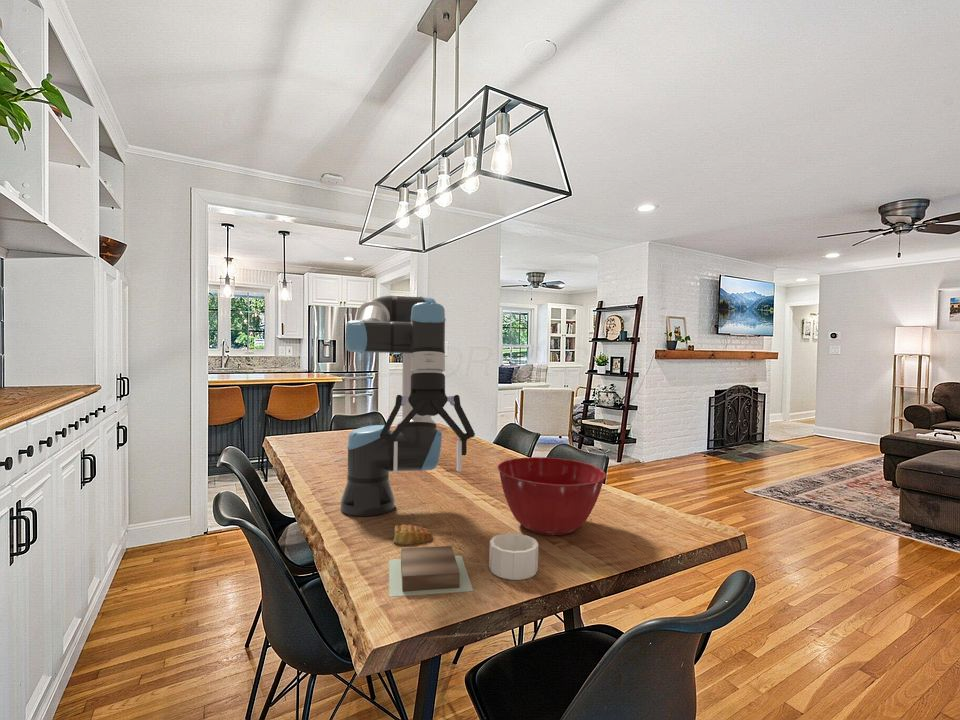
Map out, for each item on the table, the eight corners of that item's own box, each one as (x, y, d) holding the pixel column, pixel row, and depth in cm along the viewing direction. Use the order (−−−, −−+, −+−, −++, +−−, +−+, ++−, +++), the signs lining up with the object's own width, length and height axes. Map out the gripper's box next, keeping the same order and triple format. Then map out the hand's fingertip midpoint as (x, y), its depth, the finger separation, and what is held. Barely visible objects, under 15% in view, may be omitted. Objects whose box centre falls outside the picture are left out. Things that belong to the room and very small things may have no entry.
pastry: (430, 534, 125) (430, 519, 125) (433, 545, 118) (433, 529, 118) (392, 536, 123) (392, 521, 123) (393, 547, 116) (393, 531, 116)
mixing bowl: (580, 506, 149) (581, 455, 148) (623, 545, 120) (625, 482, 120) (487, 509, 144) (488, 457, 143) (509, 550, 116) (511, 485, 115)
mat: (389, 561, 109) (389, 559, 109) (461, 556, 112) (461, 555, 112) (389, 598, 93) (389, 596, 93) (473, 592, 96) (473, 590, 96)
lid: (400, 562, 108) (401, 548, 108) (451, 559, 110) (451, 545, 110) (402, 591, 95) (402, 576, 95) (459, 587, 97) (459, 572, 97)
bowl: (485, 561, 110) (486, 534, 109) (529, 558, 111) (530, 532, 111) (495, 583, 100) (495, 553, 100) (543, 580, 102) (543, 551, 101)
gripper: (369, 370, 103) (367, 475, 100) (486, 371, 108) (488, 471, 105) (370, 374, 110) (368, 472, 107) (480, 375, 115) (481, 469, 112)
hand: (427, 472), depth 106 cm, fingers open, 13 cm apart
